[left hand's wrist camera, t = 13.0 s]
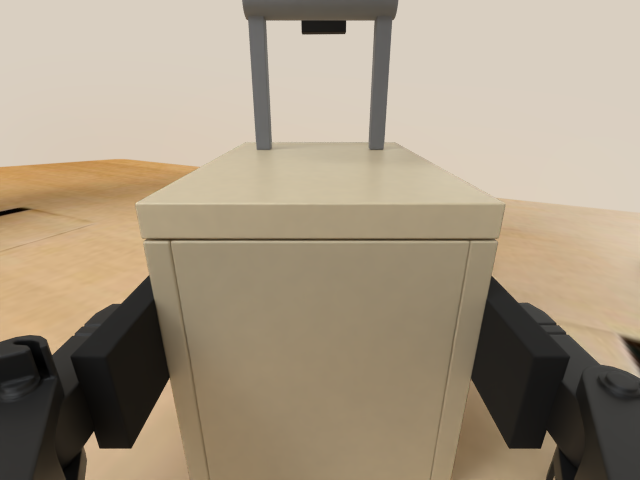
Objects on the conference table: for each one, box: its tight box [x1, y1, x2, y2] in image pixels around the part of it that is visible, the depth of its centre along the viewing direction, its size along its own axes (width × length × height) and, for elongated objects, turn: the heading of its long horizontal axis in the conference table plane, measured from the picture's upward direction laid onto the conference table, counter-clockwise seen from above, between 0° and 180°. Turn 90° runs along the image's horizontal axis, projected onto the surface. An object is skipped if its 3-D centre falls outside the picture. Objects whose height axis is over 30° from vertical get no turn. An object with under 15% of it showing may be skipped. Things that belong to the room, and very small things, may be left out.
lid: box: [135, 0, 505, 239], centre depth 14 cm, size 13×9×8 cm
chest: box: [143, 239, 498, 480], centre depth 17 cm, size 13×9×10 cm
